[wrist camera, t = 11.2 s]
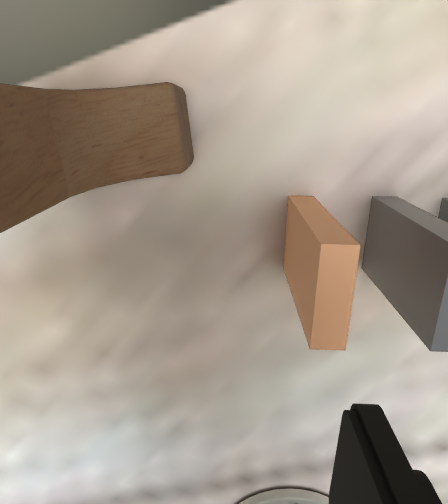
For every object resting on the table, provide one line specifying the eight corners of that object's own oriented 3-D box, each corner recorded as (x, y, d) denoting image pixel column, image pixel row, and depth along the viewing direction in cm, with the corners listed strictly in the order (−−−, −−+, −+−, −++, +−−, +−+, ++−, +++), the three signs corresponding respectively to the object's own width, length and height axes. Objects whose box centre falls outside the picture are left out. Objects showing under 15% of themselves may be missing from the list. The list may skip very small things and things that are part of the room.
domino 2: (385, 268, 27) (466, 352, 18) (361, 268, 27) (430, 351, 18) (397, 196, 25) (494, 246, 16) (372, 196, 25) (454, 245, 16)
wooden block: (184, 86, 23) (58, 17, 6) (195, 162, 25) (114, 270, 8) (38, 104, 24) (-432, 85, 7) (57, 178, 25) (-294, 309, 8)
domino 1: (306, 267, 27) (345, 350, 18) (283, 267, 27) (309, 349, 18) (313, 196, 25) (360, 245, 16) (288, 195, 26) (321, 244, 16)
